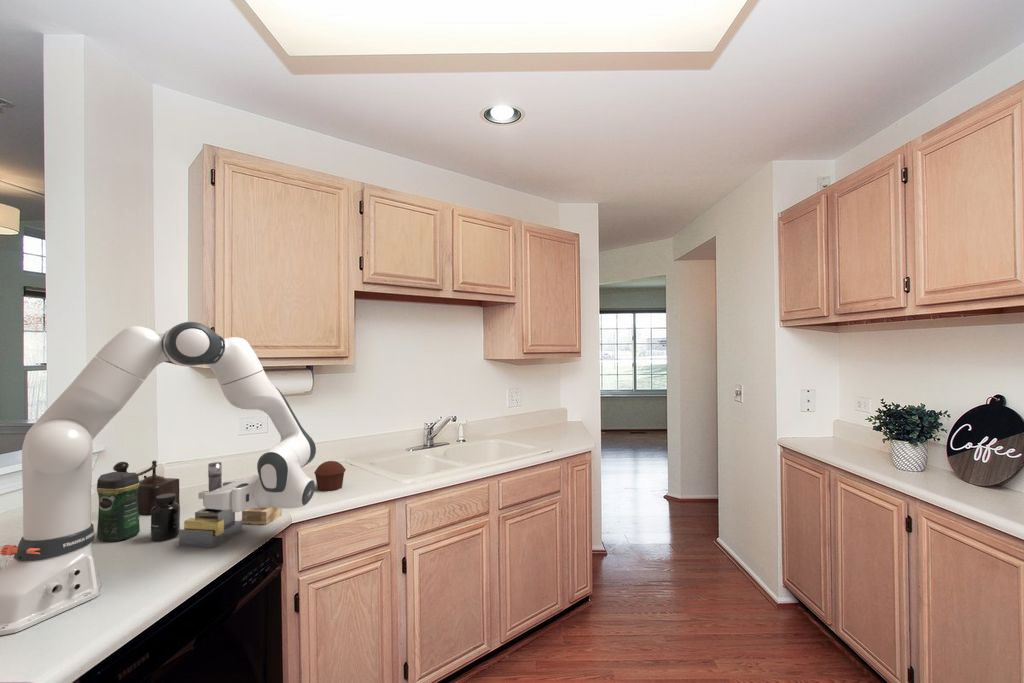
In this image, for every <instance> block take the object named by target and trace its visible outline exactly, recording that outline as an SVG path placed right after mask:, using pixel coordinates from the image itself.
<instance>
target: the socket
mask: <svg viewBox="0 0 1024 683" xmlns="http://www.w3.org/2000/svg"><path fill="white" fill-rule="evenodd" d="M194 518H204V519H224V533H222V534H220V535H218V536H213V531H206V530H184V529H181V528H180V530H179V535H178V547H180V548H182V547H183V548H202V549H213V548H216V547H217V546H219V545H220V544H222V543H225V542H226V541H228V540H230V539H232V538H233V537H235V536H236V535H238V534H240V533H242V532H243V524H242V520H236V512H232V509H230V510H220V511H218V512H210V511H209V509H208V508H205V507H203V508H202V509H199V510H198V511H196V512H194ZM241 531H242V532H241ZM234 535H235V536H234Z"/></svg>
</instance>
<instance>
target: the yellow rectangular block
mask: <svg viewBox="0 0 1024 683" xmlns="http://www.w3.org/2000/svg"><path fill="white" fill-rule="evenodd" d="M183 526H184V527H183V530H206V531H213V536H218V535H220V534H222V533H224V519H204V518H195V517H191V518H188V519H186V520H184V521H183Z"/></svg>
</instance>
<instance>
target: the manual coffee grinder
mask: <svg viewBox="0 0 1024 683" xmlns="http://www.w3.org/2000/svg"><path fill="white" fill-rule="evenodd" d="M157 467H158V465H157V460H152V461H151V466H150V467H149V468H148V469H145V470H143V471H140V472H138V473H137V474H138V477H139V476H143V475H144V474H147V473H149V472H151V471H152V473H151V474H152V475H150V476H147V475H144V476H143V478H142V479H141V480H140V479H139V487H138V493H137V500H138V514H139V516H151V510H152V508H153V507H154V506H156V504H155V502H156V497H157V496H159V495H162V494H168V493H174V494H176V501H175V502H176V503H178V504H179V505H181V504H180V478H175V477H174V478H172V477H165V476H160V475H157V473H156V471H157V469H156V468H157ZM112 469H113V472H128V469H129V463H128V462H127V461H119V462H117V463H116V464H114V466H113V467H112Z"/></svg>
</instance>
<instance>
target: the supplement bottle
mask: <svg viewBox="0 0 1024 683" xmlns="http://www.w3.org/2000/svg"><path fill="white" fill-rule="evenodd" d="M175 501H176V494H174V493H168V494H162V495H159V496H157V497H156V502H155V504H156V506H154V507H153V508H152V510H151V515H150V539H151V541H153V542H158V543H159V542H167V541H170V540H173V539H175V538H176V539H177V537H179V530H180V529H181V516H180V515H181V506H180V505H181V504H180V505H179V504H178V503H176V502H175Z"/></svg>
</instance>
